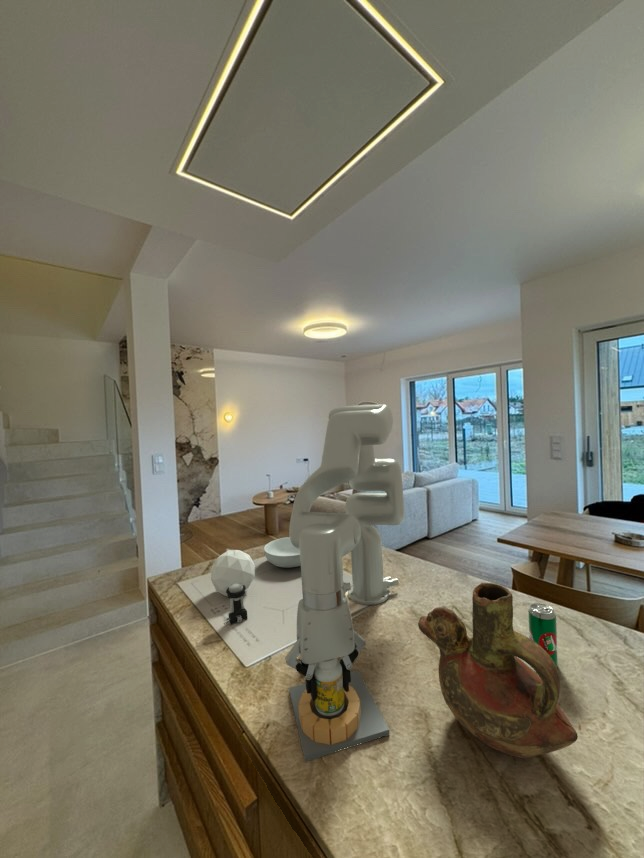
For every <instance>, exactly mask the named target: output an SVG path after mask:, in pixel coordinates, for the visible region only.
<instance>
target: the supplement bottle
mask: <svg viewBox="0 0 644 858" xmlns="http://www.w3.org/2000/svg"><path fill="white" fill-rule="evenodd" d="M339 662H340V660H339V657H338V658H334V659H330V660H326V661H322V662H318V663H316V664H315V668H314V672H313V674H314V677H315V680H316V697H317V699H316V700H315V705H316V709H317V711H318V712H319V713H320V714H322V715H324V716H334V715H337V714H338V713H340V712H341V711H342V709H343V707H344V689H343V674H342V666H341V664H340V663H339Z"/></svg>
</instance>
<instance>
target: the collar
mask: <svg viewBox="0 0 644 858" xmlns="http://www.w3.org/2000/svg"><path fill="white" fill-rule="evenodd" d="M343 689H344V688H343ZM344 705H345V706H346V707H347V710H346V711H345V712H344V713H343V714H342V715H341V716H340V717H337V718H334V719H330V720H329V719H323V718H319V717H318V716H316V715H315V714H314V713H313V712H312V710H313V708H314V707H315V706H316V705H315V701H313V700H312V697H311V694H310V693H309V694H307V690H305V691H304V692H303V693H302V696H301V698H300V701H299V703H298V708H299V720H300V724H301V728H302V730H303V732H304V733H305V734H306V735H307V736H308V737H309V738H310V739H312V740H313V741H314V740H315V742H319V743H324V744H329V745H330V742H331V744H335V743H338V742H341V741H345V740H346V738H349V737H350V736H351V735H352V734H353V733H354V732H355V731H356V730H357V729H358V727H359V722H360V716H361V711H360V699H359V697H358V695H357V693H356V691H355V690H354V688H353V687H351V686H350V685H349V691H348V692H346V691H345V690H344Z"/></svg>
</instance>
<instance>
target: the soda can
mask: <svg viewBox="0 0 644 858" xmlns="http://www.w3.org/2000/svg"><path fill="white" fill-rule="evenodd" d="M529 607H530V608H528V633H529V634H528V636H529V637H528V638H530V639H531V640H533V641H534V642H536V643H537V644H538V645H540V646H541V647H542V648H543V649H544V650H545V651H546V652H547V653H548V654H549V655H550V657H551V658H552V660H553V661H554V663H555V665H556V667H557V666H558V663H559V662H558V639H557V638H558V632H557V615H556V613H555V610H554V608H552V607H551V606H550V605H547V604H545V603H539V602H535V603H531V604H530V606H529Z"/></svg>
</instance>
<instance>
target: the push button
mask: <svg viewBox="0 0 644 858" xmlns="http://www.w3.org/2000/svg"><path fill="white" fill-rule="evenodd" d="M246 590H247V589H246V587H245V586H244V585H242V583H239V582H237V583H233V584H231V585H230V586H229V587H228V588H227V589H226V593H227V595H228V596H227V598H229V603H230V604H229V605H230V610H229V612H228V614H227V615H228V617H227V618H225V619H223V625H227V624H230V625H234V624H238V623H242V621H247V620H248V610H247V609H246V608H245V605H244V595H245V594H246Z"/></svg>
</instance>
